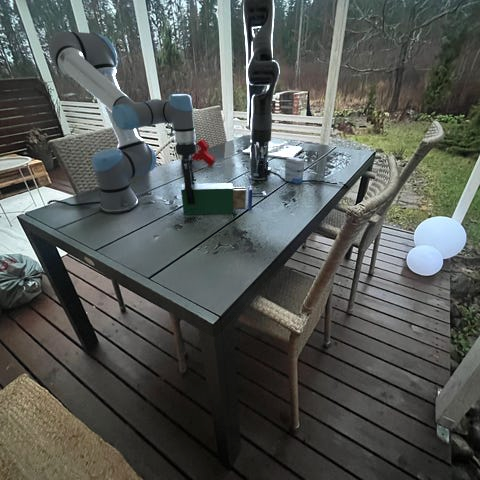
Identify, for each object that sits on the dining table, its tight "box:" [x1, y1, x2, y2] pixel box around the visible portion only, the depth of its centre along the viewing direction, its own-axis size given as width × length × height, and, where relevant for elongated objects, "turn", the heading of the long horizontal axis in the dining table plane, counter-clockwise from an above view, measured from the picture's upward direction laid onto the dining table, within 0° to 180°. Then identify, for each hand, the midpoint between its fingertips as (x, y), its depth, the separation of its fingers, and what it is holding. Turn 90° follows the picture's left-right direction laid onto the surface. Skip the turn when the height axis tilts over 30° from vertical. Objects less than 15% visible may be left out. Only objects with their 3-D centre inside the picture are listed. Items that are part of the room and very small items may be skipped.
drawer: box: [233, 185, 268, 211], centre depth 112 cm, size 25×5×9 cm, turn 94°
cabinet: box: [180, 182, 234, 216], centre depth 112 cm, size 20×6×11 cm, turn 94°
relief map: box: [242, 139, 304, 160], centre depth 192 cm, size 27×35×5 cm
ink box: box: [284, 156, 306, 185], centre depth 140 cm, size 8×5×12 cm, turn 47°
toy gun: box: [181, 138, 216, 167], centre depth 167 cm, size 18×4×15 cm
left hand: (192, 200), depth 111 cm, fingers closed on cabinet, 6 cm apart
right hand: (259, 173), depth 107 cm, fingers closed
